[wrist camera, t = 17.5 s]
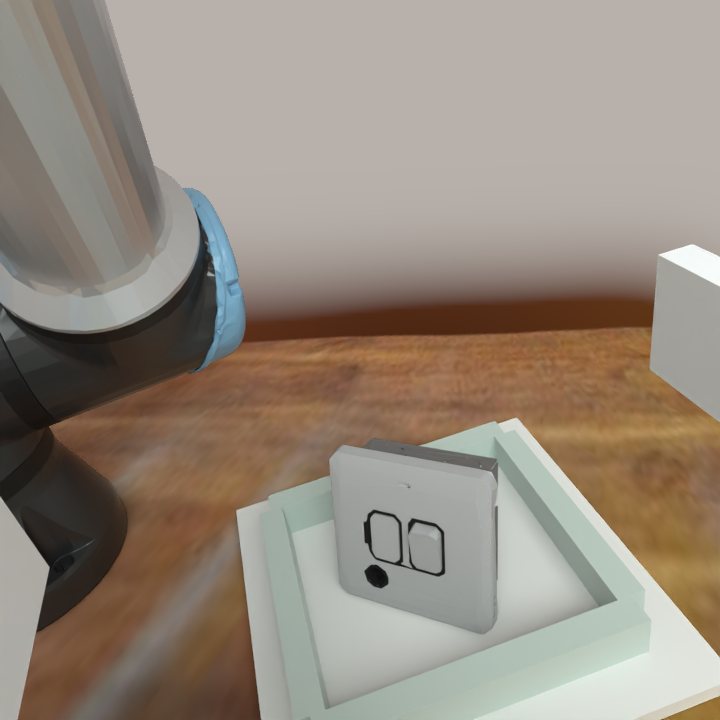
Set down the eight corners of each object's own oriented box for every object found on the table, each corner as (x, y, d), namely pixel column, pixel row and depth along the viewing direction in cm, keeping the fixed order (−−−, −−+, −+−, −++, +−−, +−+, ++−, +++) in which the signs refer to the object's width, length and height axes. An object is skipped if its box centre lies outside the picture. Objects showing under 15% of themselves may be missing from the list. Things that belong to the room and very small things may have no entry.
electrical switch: (339, 594, 37) (310, 469, 33) (377, 535, 41) (356, 417, 37) (493, 643, 33) (483, 505, 28) (519, 571, 37) (513, 441, 32)
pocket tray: (240, 519, 45) (225, 484, 44) (517, 427, 48) (514, 391, 46) (284, 871, 27) (261, 835, 25) (734, 689, 29) (743, 645, 27)
